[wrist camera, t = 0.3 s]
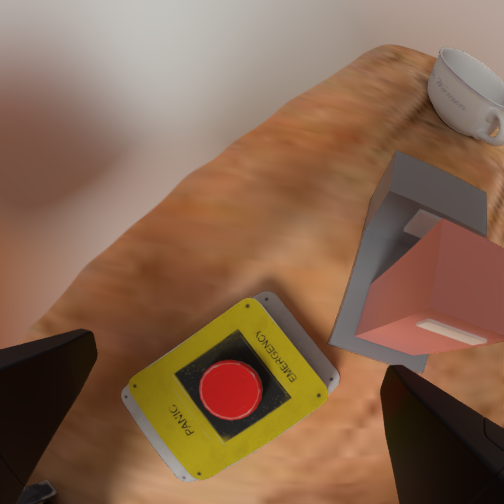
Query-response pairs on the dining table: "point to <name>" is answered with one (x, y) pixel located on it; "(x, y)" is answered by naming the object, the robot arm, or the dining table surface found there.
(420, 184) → the bookend
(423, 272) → the pink tall block
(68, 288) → the dining table surface
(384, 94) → the dining table surface
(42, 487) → the decorative book
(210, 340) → the emergency button
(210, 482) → the dining table surface
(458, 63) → the teacup
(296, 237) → the dining table surface
